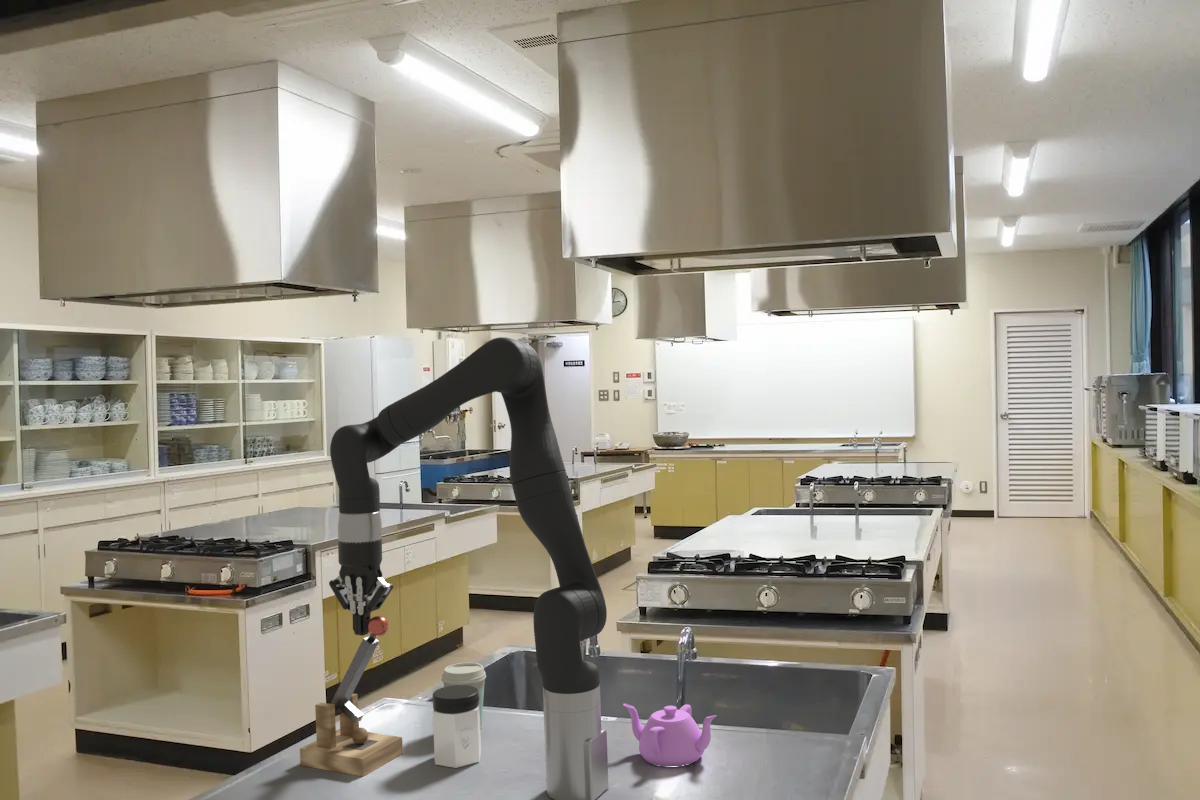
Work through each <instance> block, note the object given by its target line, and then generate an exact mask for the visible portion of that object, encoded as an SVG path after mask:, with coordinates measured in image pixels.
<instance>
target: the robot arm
mask: <svg viewBox="0 0 1200 800" xmlns="http://www.w3.org/2000/svg"><path fill="white" fill-rule="evenodd" d="M542 365H543V364H542V361H541V358H540V356H539V355H538V352H537V351H536V350H535V349H534V348H533V347H532V346H531V345H530V344H529V343H526V342H524V341H521V340H517V339H514V338H510V337H507V336H505V337H504V336H502V337H501V336H499V337H495V338H492V339H490V340H489V341H487V342H485V343H484V344H482V345H481V346H480V347H478V348H477V349H476V350H474V351H473V352H472V353H471V354H469V355H468V356H467V357H465V358H464V359H463V360H462V361H461V362H459V363H458V364H456V365H455V366H454V367H452V368H451V369H449V370H448V371H447V372H445V373H444V374H442V375H441V376H439V377H438V378H436V379H435V380H433V381H431V382H430V383H428V384H427V385H425V386H423V387H421V388H419V389H418V390H416V391H414V392H412V393H410V394H408V395H406V396H404V397H402V398H399V399H398V400H396V401H395V402H393V403H391V404H389V405H387V406H386V407H384V408H383V409H381V410H380V411H379V413H378V415H377V416H376V417H374V418H372V419H370V420H368V421H365V422H363V423H359V424H347V425H343V426H341V427H339V428H338V429H337V430H336V431H335V432H334V433H333V435H332V437H331V442H330V446H329V453H330V460H331V466H332V469H333V473H334V477H335V481H336V484H337V486H338V511H339V512H338V522H337V545H338V546H337V547H338V548H337V549H338V550H337V551H338V552H337V554H338V555H337V556H338V561H337V562H338V564H339V565H340V569H339V571H338V574H339V575H338V576H337V577H336V578H335V579H331V580H329V582H328V585H329V586H330V587H329V588H330V589H331V590H332V592H333V593H334V596H335V597H336V599H337V600H338V603H339V604H340V606H341V607H342V609H343V610H348V611H349V612H350V614H351V615H352V631H353V633H354V635H355V636H360V637H361V636H365V635H368V634H370V633H369V631H368V623H369V621H370V619H371V613H372V612H374V611H377V610H379V609H381V607H382V605H383V604H384V602H385V601H386V599H387V598H388V596H389V595H390V594H391V591H392V590H393V588H394V585H393V583H391V582H389V583H387V582H386V581H385V579H384V578H383V572H382V570H381V563H382V561H383V550H382V549H383V536H382V535H383V533H382V525H383V524H382V518H381V511H380V510H381V501H380V499H381V498H380V497H381V496H380V492H381V491H380V485H379V484H380V483H379V482H378V481H377V480H376V478H373V477H370V473H369V468H368V467H369V466H368V463H373V462H375V461H377V460H379V459H381V458H383V457H385V456H386V455H389V453H391V452H392V451H394V450H396V449H397V448H398V447H399V446H401V445H402V444H404V443H406V442H409V441H410V440H413V439H414V438H417V437H418V436H420V435H422V434H424V433H427V432H428V431H430V430H431V429H433V428H434V427H436V426H438V425H439V424H440V423H442V422H443V421H444V420H445V419H446V418H447V417H449V416H450V415H451V413H453V412H454V411H456V409H458V408H459V407H460V406H462V405H464V404H466V403H468V402H470V401H472V400H474V399H477V398H480V397H482V396H486V395H488V394H493V393H499V394H501V397H502V399H503V402H504V406H505V409H506V412H507V416H508V419H509V424H510V429H511V430H510V431H511V432H510V433H511V436H510V437H511V438H510V440H511V441H510V453H509V476H510V477H509V478H510V483H511V485H512V490H513V495H514V498H515V503H516V507H517V510H518V512H519V515H520V517H521V519H522V520H523V522H524V523H525V524H526V526H527V527H528V528H529V530H530V532H532V533H533V535H534V536H535V537H536V538H537V540H538V541H539V542H540V544H542V546H543V547H544V549H545V550H546V551H547V553H548V555H549V557H550V559H551V560H552V563H553V567H554V570H555V573H556V576H557V581H558V585H559V586H558V587H555V588H552V589H551V588H550V589H548V590H546V591H544V592H542V593H541V594H540V595H539V596H538V598H537V600H536V602H535V605H534V609H533V633H534V643H535V656H536V657H535V659H536V664H537V667H538V670H539V671H538V672H539V674H540V677H541V680H542V696H543V698H542V702H543V708H542V709H543V727H544V731H543V732H544V753H545V756H544V757H545V759H544V760H545V782H546V793H547V796H549V798H551V799H552V800H596V799H598V798H599V797H600V796H601V795H602V794H604V792H605V791H607V790H608V789H609V788H610V786H609V785H610V784H609V763H608V738H607V737H608V735H607V733H608V732H607V730H606V729H605V728H602V712H601V711H602V709H601V707H602V706H601V680H600V677H601V676H600V670H599V667H598V666H597V665H596V664H595V663H594V662H592V661H587V660H583V657H582V647H581V642H582V641H585V640H588V639H590V638H594V637H595V636H597V635H599V634H600V633H601V632H602V631H603V629H604V628H605V625H606V622H607V615H608V614H607V605H606V600H605V597H604V593H603V590H602V587H601V585H600V581H599V580H598V577H597V573H596V571H595V568H594V566H593V563H592V560H591V558H590V555H589V552H588V549H587V545H586V543H585V539H584V535H583V533H582V528H581V525H580V522H579V518H578V515H577V512H576V508H575V504H574V498H573V495H572V490H571V486H570V482H569V478H568V475H567V471H566V467H565V464H564V460H563V457H562V454H561V450H560V446H559V441H558V439H557V435H556V432H555V431H556V430H555V427H554V425H553V422H552V418H551V414H550V408H549V403H548V397H547V390H546V383H545V376H544V371H543V366H542Z"/></svg>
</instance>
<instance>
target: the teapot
mask: <svg viewBox="0 0 1200 800" xmlns="http://www.w3.org/2000/svg"><path fill="white" fill-rule="evenodd" d="M622 705H623V707H625V708H626V709H627V710H628V712H629V715H630V720H631V730H632V733H633V736H634V737H635V739H636V740H637V741H638V751H639V754H640V755H641V756H642V758H643V759H644V760H645V761H646V762H647V761H648V762H649V763H648V762H647V763H648V764H650V763H652V764H655V765H660V766H682V765H686V764H690V763H693V762H695V761H696V762H697V761H698V760H699V759H700V758H701V756H703V754H704V752H705V750H706V749H707V748H708V747H709V746H710V742H711V738H712V736H711V735H712V734H711V725H712V721H713V720H714V719H715V718H716V717H717V714H716V715H709V716H706V717H705V718H704V719H703V721H702V728H701V730H700V727H699V726H698V724H697V723H696V721H695V720H694V718H693V717H692V713H693V712H692V710H693V709H692V706H691V705H690V704H687V703H686V704H684V705H682V706H681V707H680V708H679V709H678V708H677V706H675V705H665V706H664V707H663V709H661V710H657V711H655V712H653V713H652V714H651V715H650V716H649V717H648V719H647V721H646V723H645V725H643V724H642V723H641V720H640V717H639V714H638V711H637V709H636V708H635V706H634V705H631V704H629V703H622ZM696 762H695V763H696ZM652 764H651V765H652ZM693 764H694V763H693ZM655 765H654V766H655Z"/></svg>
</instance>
